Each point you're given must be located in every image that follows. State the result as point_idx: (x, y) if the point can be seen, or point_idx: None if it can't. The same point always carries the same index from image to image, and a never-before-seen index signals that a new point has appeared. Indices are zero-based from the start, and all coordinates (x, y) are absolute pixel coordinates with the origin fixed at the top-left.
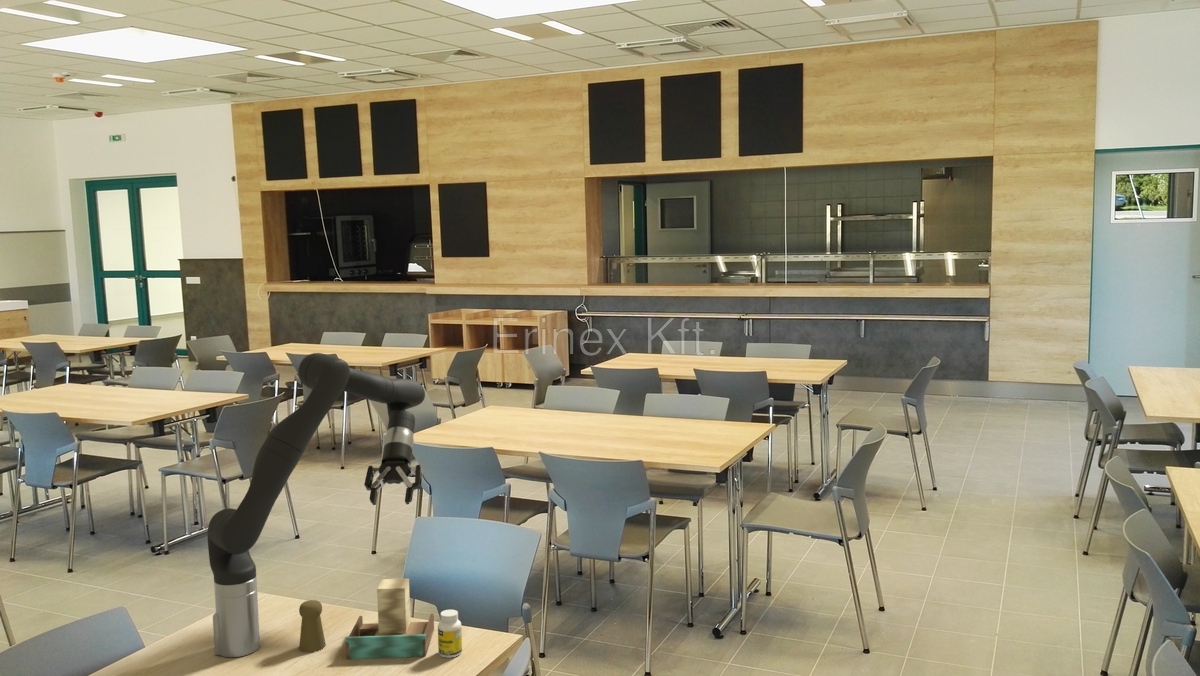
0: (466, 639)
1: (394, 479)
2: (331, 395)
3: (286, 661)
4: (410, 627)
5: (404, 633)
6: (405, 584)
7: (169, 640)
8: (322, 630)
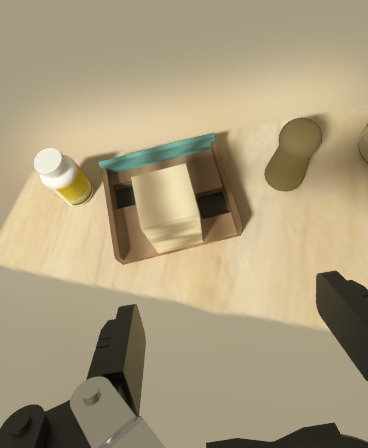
0: (64, 238)
1: (252, 445)
2: None
3: None
4: None
5: None
6: (136, 195)
7: None
8: (273, 164)
